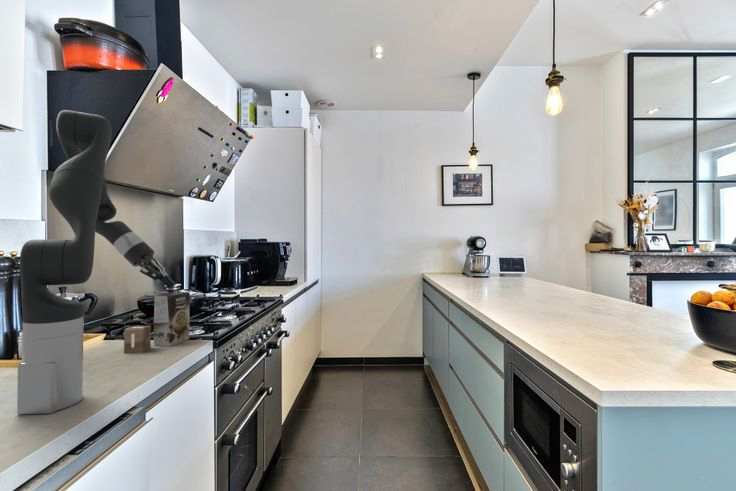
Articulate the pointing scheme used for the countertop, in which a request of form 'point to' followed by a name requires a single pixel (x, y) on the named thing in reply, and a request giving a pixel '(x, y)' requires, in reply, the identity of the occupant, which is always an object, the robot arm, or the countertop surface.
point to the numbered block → (137, 339)
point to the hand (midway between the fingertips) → (172, 286)
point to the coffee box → (171, 318)
